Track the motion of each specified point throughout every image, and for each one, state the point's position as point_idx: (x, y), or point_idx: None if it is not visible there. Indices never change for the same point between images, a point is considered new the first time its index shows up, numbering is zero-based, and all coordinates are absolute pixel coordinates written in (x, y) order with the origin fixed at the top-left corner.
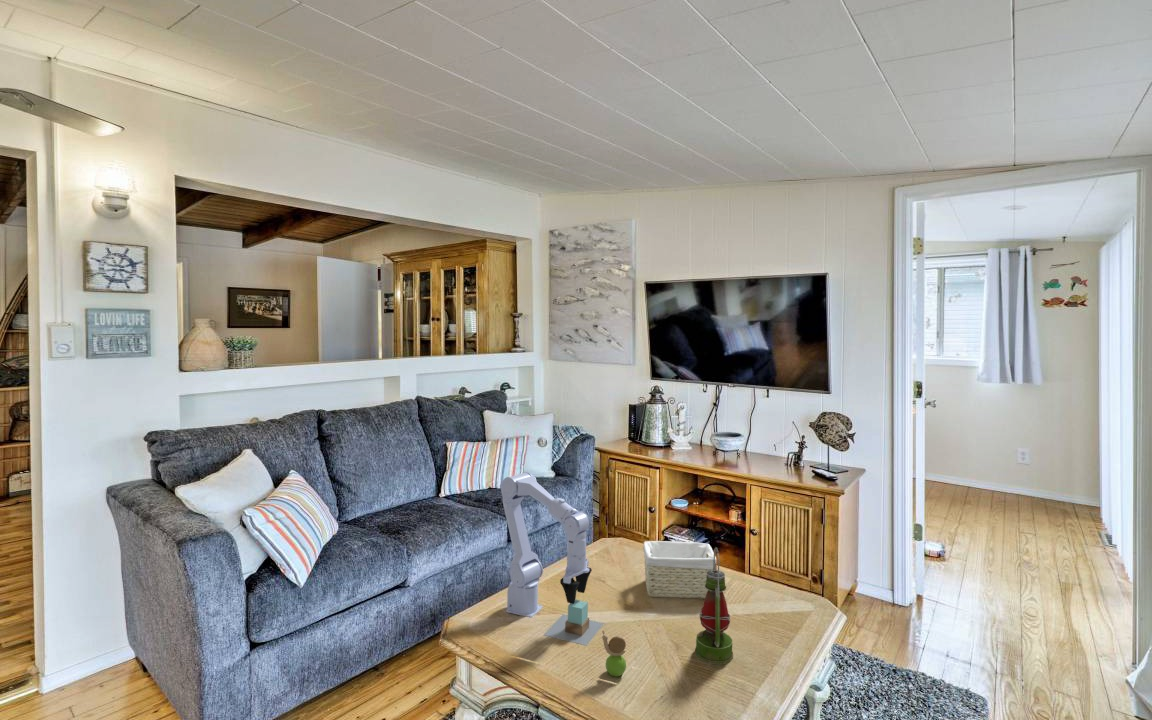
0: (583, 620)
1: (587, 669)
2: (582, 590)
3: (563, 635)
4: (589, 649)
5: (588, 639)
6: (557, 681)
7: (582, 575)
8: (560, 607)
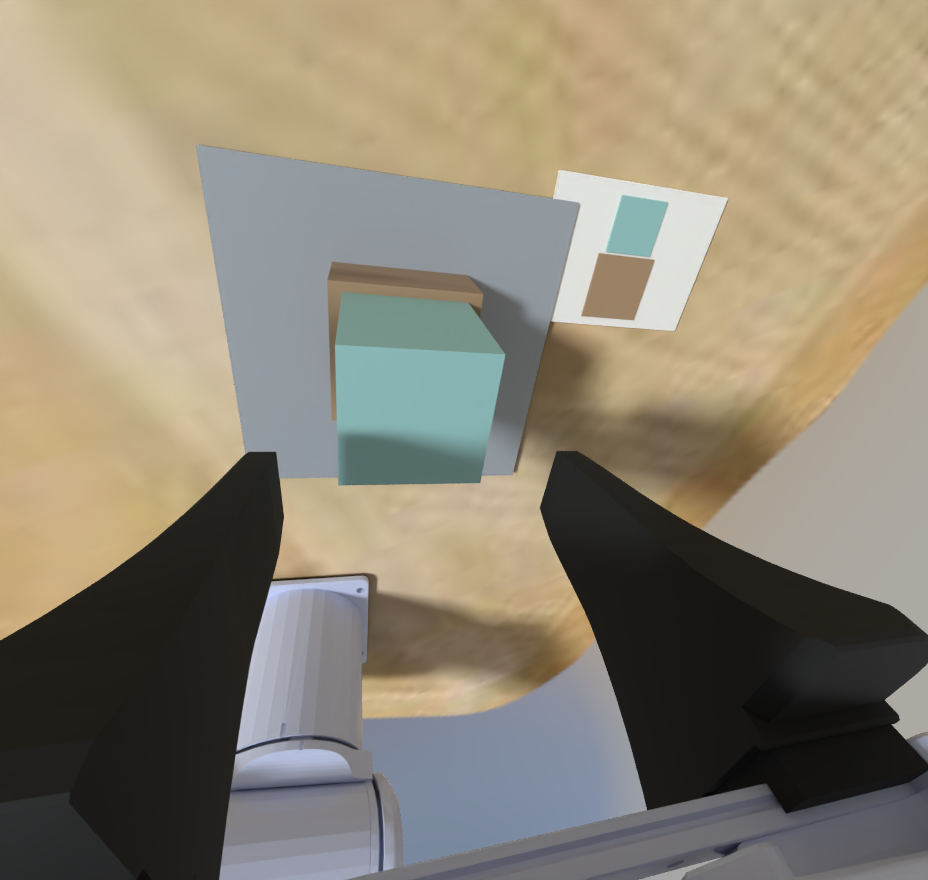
0: (436, 306)
1: (823, 115)
2: (274, 485)
3: None
4: (601, 171)
5: (500, 213)
6: (888, 262)
7: (199, 709)
8: (166, 519)
